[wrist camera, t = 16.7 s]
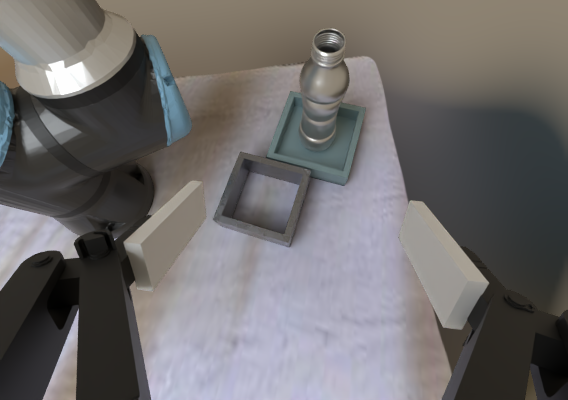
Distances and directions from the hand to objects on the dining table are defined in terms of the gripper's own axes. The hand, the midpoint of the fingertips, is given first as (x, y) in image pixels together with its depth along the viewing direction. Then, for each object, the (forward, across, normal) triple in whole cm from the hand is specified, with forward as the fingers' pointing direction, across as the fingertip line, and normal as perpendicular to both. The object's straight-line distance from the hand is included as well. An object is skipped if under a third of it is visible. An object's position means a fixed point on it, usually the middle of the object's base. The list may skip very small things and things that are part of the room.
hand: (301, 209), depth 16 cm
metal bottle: (+32, +2, -4) cm, 32 cm away
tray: (+33, +2, -4) cm, 33 cm away
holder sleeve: (+24, -6, -13) cm, 28 cm away
